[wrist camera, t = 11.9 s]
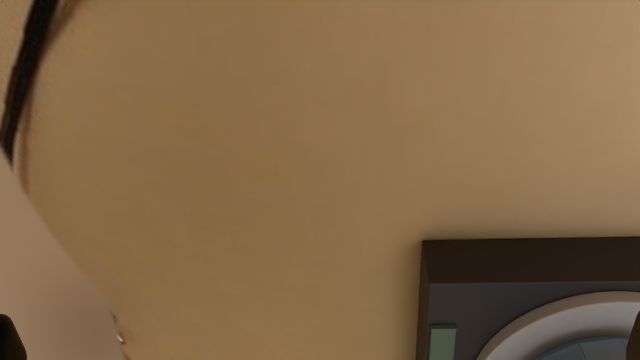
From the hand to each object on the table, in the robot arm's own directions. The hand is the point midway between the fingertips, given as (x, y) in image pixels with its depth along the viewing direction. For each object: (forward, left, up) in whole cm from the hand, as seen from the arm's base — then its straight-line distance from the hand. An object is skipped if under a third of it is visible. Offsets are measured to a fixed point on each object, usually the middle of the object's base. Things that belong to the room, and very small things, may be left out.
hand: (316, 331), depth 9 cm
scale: (+15, -6, -12) cm, 20 cm away
